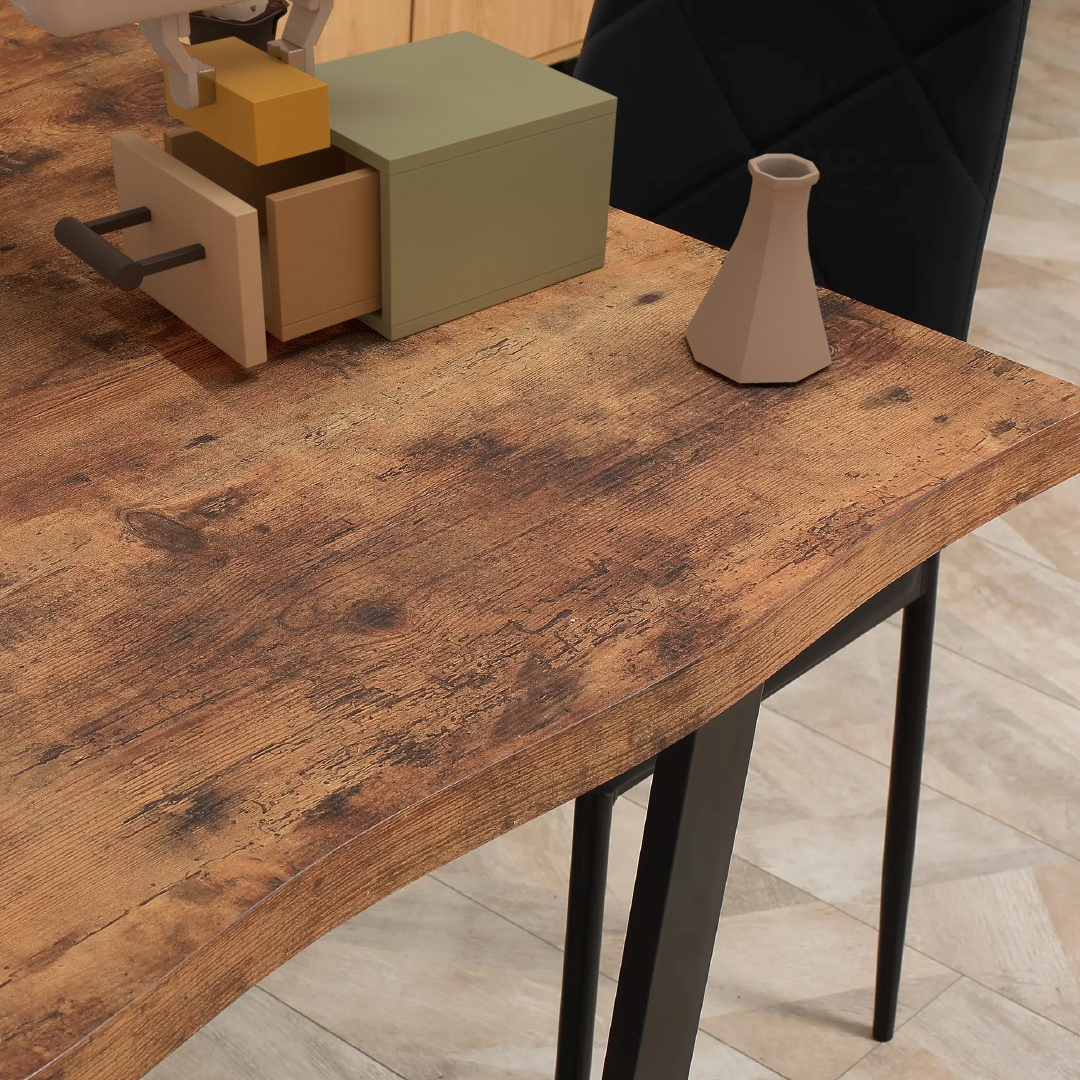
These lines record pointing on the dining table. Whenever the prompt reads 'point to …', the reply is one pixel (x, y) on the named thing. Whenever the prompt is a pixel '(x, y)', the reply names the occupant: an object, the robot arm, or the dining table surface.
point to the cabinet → (473, 173)
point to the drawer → (239, 238)
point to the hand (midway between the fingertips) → (243, 92)
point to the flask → (766, 285)
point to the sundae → (238, 22)
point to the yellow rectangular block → (257, 104)
